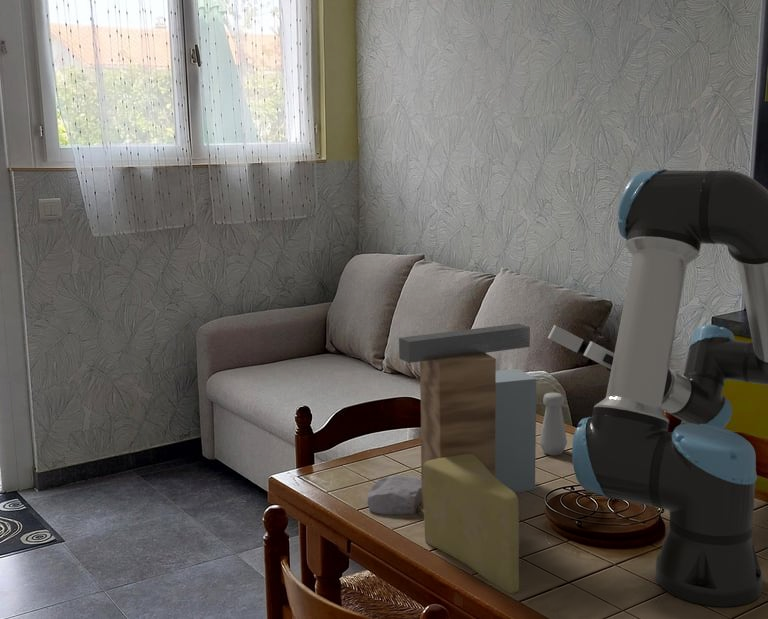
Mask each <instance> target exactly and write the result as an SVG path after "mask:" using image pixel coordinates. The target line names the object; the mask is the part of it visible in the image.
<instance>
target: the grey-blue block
mask: <svg viewBox="0 0 768 619" xmlns="http://www.w3.org/2000/svg"><path fill="white" fill-rule="evenodd" d="M536 433H537V378H536V377H534V376H532V375H531V374H528V373H527V372H525V371H523V370H521V369H519V368H515V369H514V368H513V369H504V370H503V369H502V370H496V409H495V477H496V478H497V479H498V480H499V481H500V482H502V483H503V484H504V485H506V486H507V487H508V488H510V489H511V490H512V491H513V492H514V493H515V494H516V493H522V492H529V491H535V490H536V446H537V444H536V440H537V436H536V435H537V434H536Z"/></svg>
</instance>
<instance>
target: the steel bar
mask: <svg viewBox="0 0 768 619" xmlns="http://www.w3.org/2000/svg"><path fill="white" fill-rule="evenodd" d="M398 347H399V348H398V352H399V353H398V354H399V357H398V358H399V360H402V361H404V362H406V363H408V364H410V363H417V362H418V363H420V361H428V360H435V359H443V358H450V357H458V356H465V355H473V354H480V353H486V354H488V353H493V352H501V351H510V350H516V349H517V350H518V349H525V348H530V347H531V327H530V326H528V325H525V324H522V323H511V324H503V325H496V326H486V327H478V328H470V329H469V328H468V329H461V330H453V331H445V332H437V333H428V334H427V333H426V334H420V335H418V334H417V335H412V336H402V337H399V338H398Z"/></svg>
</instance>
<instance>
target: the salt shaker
mask: <svg viewBox="0 0 768 619" xmlns="http://www.w3.org/2000/svg"><path fill="white" fill-rule="evenodd" d="M542 402H543V404H544V406H545V412H544V416H543V422H542V426H541V432H540V437H539V442H538V443H539V445H540V447H541V450H542V452H543V454H544V455H548V456H553V457H554V456H560V455H562V454H563V453H564V451H565V449H566V446H567V445H568V440H567V439H568V438H567V434H566V433H567V432H566V427H565V422H564V421H565V420H564V416H563V410H562V406H563V405H564V403H565V397H564V395H563V394H562V393H559V392H547V393H544V395H543V398H542Z"/></svg>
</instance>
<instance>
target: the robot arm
mask: <svg viewBox="0 0 768 619" xmlns="http://www.w3.org/2000/svg"><path fill="white" fill-rule="evenodd" d="M617 215H618V220H617V228H618V231H619V232H618V233H619V234H620V236H621V237H622V239H625V240H626V242H625V247H626V248H627V250H628V252H629V253H630V254H631V255H632V259H631V265H630V270H629V274H628V281H627V285H626V290H625V295H624V300H623V301H624V302H623V305H622V311H621V312H622V313H621V317H620V323H619V328H618V333H617V339H616V343H615V348H614V352H613V351H611V350H609V349H607V348H605V347H604V346H602V345H599V344H597V343H595V342H594V341H591V340H590V341H589V342H588V341H585V339H582V338H581V337H579V336H577V335H575V334H573V333H572V332H569V331H567V330H565V329H563V328H562V327H559V326H558V325H556V324H554V325H553V326H552V329H551V331H550V332H549V335H548V336H547V339H549V340H551V341H553V342H555V343H557V344H558V345H561V346H563V347H565V348H567V349H569V350H571V351H572V353H571V354H572V355H573V356H576V355H577V354H581V355H582V356H583V357H586V358H588V359H590V360H592V361H594V362H595V363H598V364H599V365H601V366H604V367H605V369H606V371H608V372H609V373H610V374H609V375H610V376H609V378H608V385H607V389H606V395H605V397H604V399H602V400H601V401H599V402H598V403H596V404H595V405H594V406H593V409H592V410H593V411H592V416H588V417H584V418H582V419H581V420H580V421H579V422H578V424H577V427H576V428H575V430H574V434H573V439H572V452H571V453H572V454H571V455H572V459H571V460H572V466H573V471H574V474H575V477H576V480H577V482H578V484H579V485H580V486H581V488H583V490H585V491H587V492H589V493H592V494H595V495H598V496H599V495H600V496H602V497H604V498H608V499H611V500H612V499H616V500H620V501H623V502H624V501H625V502H629V503H632V504H633V503H634V504H638V505H643V506H647V507H650V508H651V507H652V508H655V509H656V508H657V509H661V510H667V511H669V520H668V521H669V522H668V523H669V525H668V527H669V528H668V531H667V533H666V536H665V537H664V541H663V544H662V546H661V550H660V552H659V554H658V555H657V557H656V559H655V560H656V561H655V568H654V569H655V570H654V576H655V577H654V578H655V581H656V582H657V584H658V586H659V587H661V588H662V589H663V590H665V592H667V593H669V594H670V595H672V596H674V597H676V598H679V599H681V600H684V601H687V602H691V603H694V604H698V605H703V606H709V607H711V606H712V607H735V606H736V607H738V606H743V605H746V604H750V603H751V602H755V601H756V600H757V599H758V598H759V597H760V595H761V594H762V588H763V574H762V569H761V567H760V563H759V560H758V556H757V554H756V550H755V546H754V542H753V522H754V508H755V495H756V492H755V491H756V481H757V479H758V475H757V474H758V473H757V470H756V468H757V464H756V463H757V462H756V460H757V459H756V457H757V456H756V451H755V448H754V446H753V445H752V444H751V442H749V440H748V439H746V438H745V437H743V436H742V435H740V434H739V433H736V432H734V431H732V430H730V429H727V428H725V427H726V426H727V425H728V424H729V423H730V421H731V418H732V414H733V409H732V403H731V401H729V399H728V398H726V397H725V396H724V395H723V392H724V387H725V383H726V380H727V381H735V382H744V383H751V384H758V385H765V386H768V189H767V187H765V186H763V185H762V184H761V183H759V181H757V180H756V179H754V178H752V177H750V176H748V175H747V174H743V173H742V172H738V171H735V170H729V169H727V170H726V169H722V170H680V169H679V170H677V169H676V170H675V169H674V170H672V169H671V170H668V169H666V168H665V169H663V168H662V169H657V170H647V171H644V170H643V171H640V172H639V173H637V174H636V175H635V176H632V178H630V180H629V182H628V183H627V184H626V186H625V188H624V190H623V192H622V194H621V198H620V200H619V206H618V209H617ZM702 244H711V245H716V244H720V245H724V246H726V247H727V250H728V253H729V255H730V257H731V258H732V259H733V260H734V261H736V264H737V268H738V274H739V279H740V283H741V289H742V293H743V300H744V305H745V310H746V316H747V320H748V328H749V331H750V337H751V341H743V340H735V335H734V333H733V332H732V331H731V330H729V328H726V327H724V326H718V325H716V324H715V325H714V324H705V325H700V326H698V327H697V328H696V329H694V332H693V335H692V340H691V342H690V344H689V347H688V351H687V352H688V353H687V357H686V362H685V367H684V372H683V374H682V373H680V372H677V371H675V370H673V369H671V368H669V366H670V361H671V356H672V350H673V344H674V341H675V340H674V339H675V334H676V328H677V323H678V317H679V312H680V311H679V310H680V305H681V301H682V295H683V288H684V284H685V278H686V272H687V266H688V265H689V264H690V263H692V262H693V261H695V260H697V259H698V258H699V255H700V252H701V250H700V249H701V246H702ZM665 413H667V414H669V415H671V416H673V417H675V418H677V419H678V420H681V421H683V422H685V423H682V424H679V425H677V426H676V427H675V428H674V429H673V431H672V432H671V431H668V430H669V424H670V420H669V418H668V417H667V416H666V415H665Z"/></svg>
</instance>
